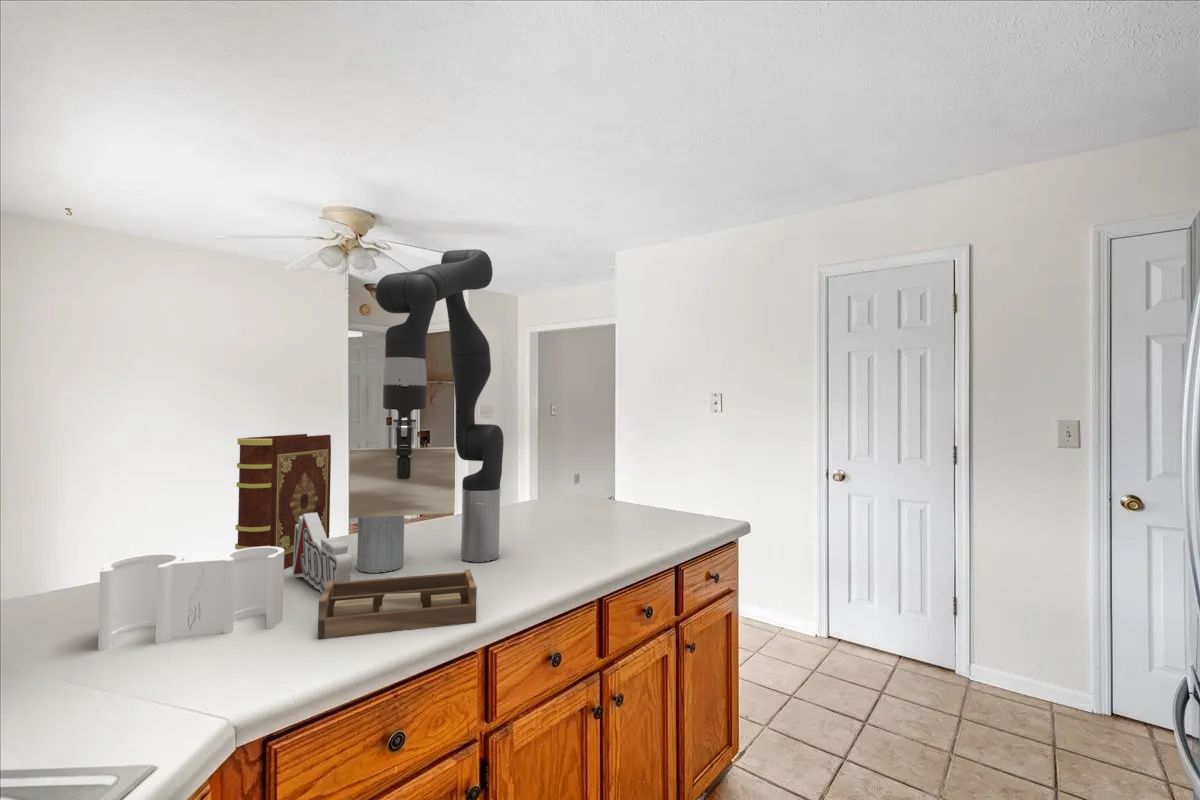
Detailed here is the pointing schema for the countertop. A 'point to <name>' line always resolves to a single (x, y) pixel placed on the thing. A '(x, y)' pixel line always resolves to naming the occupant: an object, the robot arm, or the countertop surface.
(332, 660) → the countertop surface
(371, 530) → the vase
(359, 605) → the offcut
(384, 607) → the upper offcut
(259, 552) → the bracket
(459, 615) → the rack
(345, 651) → the countertop surface
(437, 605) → the offcut
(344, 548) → the decorative sign
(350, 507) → the sheet
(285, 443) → the decorative book
